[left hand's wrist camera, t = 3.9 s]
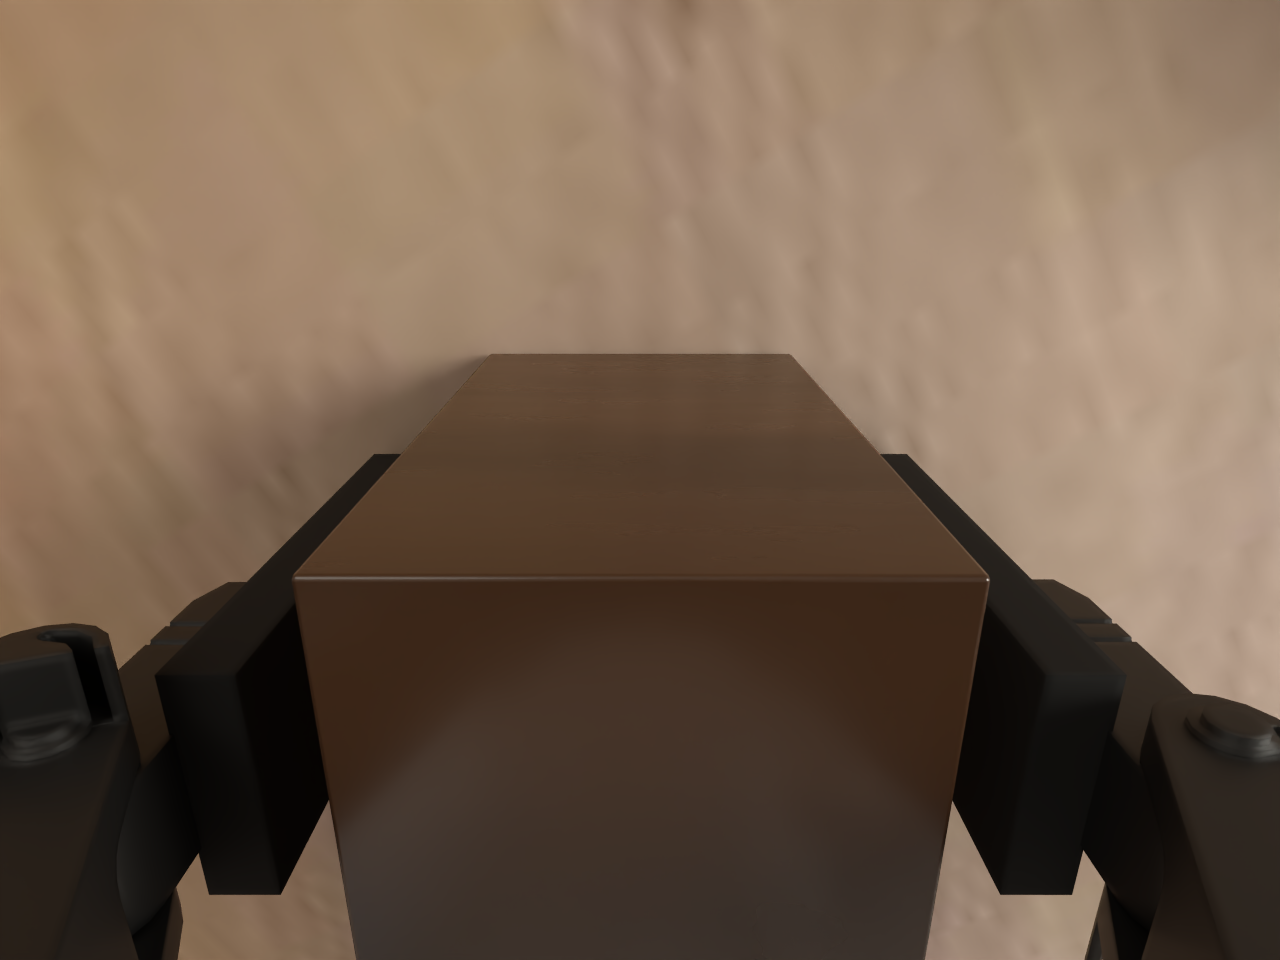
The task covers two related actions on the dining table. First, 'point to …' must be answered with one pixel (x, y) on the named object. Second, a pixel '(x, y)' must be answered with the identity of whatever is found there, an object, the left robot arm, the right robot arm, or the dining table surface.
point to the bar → (640, 673)
